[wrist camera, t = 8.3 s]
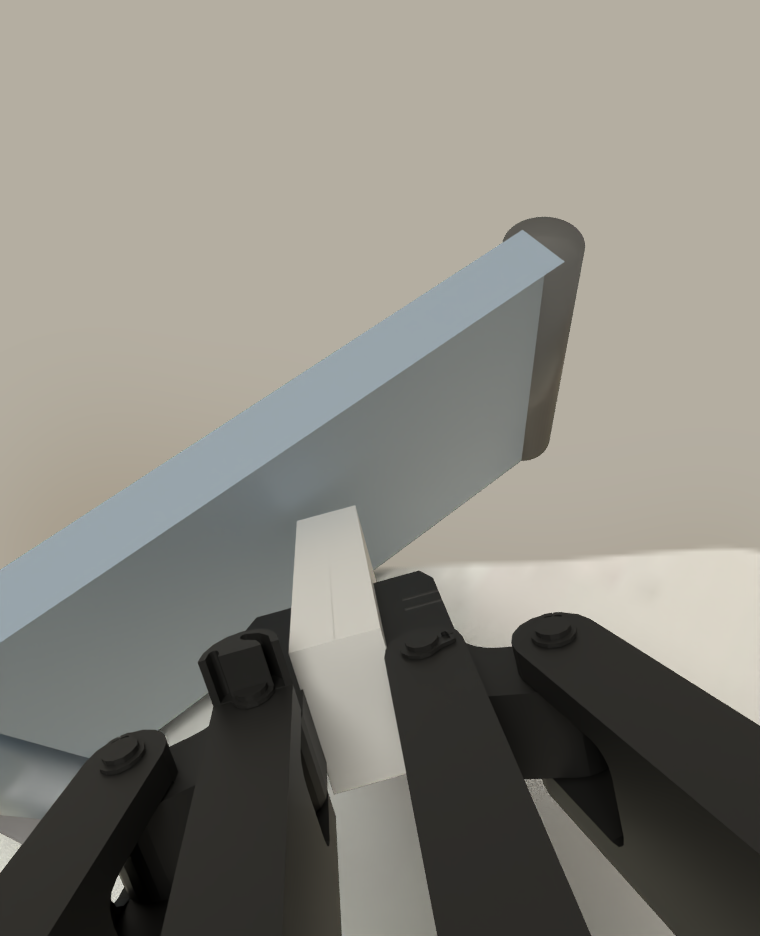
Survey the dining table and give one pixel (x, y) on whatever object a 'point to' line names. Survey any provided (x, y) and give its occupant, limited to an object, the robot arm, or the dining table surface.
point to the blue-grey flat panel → (276, 506)
